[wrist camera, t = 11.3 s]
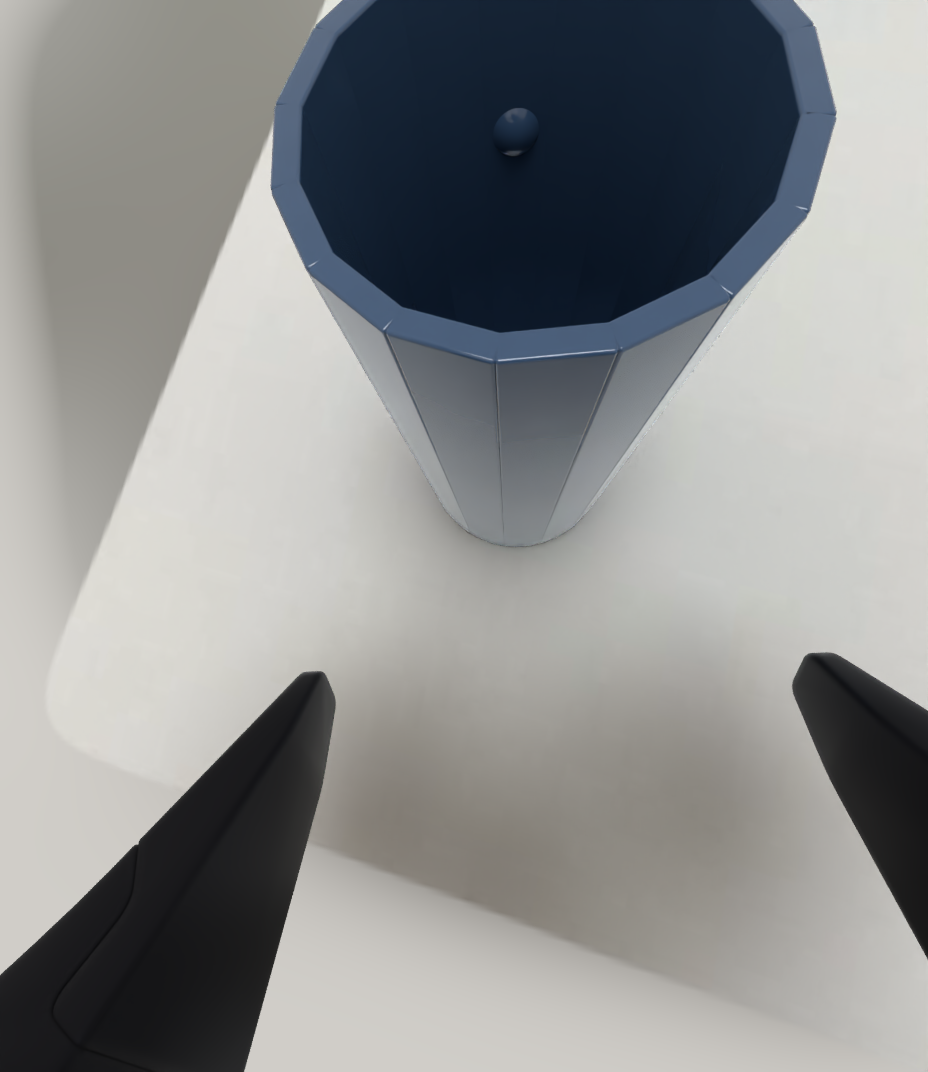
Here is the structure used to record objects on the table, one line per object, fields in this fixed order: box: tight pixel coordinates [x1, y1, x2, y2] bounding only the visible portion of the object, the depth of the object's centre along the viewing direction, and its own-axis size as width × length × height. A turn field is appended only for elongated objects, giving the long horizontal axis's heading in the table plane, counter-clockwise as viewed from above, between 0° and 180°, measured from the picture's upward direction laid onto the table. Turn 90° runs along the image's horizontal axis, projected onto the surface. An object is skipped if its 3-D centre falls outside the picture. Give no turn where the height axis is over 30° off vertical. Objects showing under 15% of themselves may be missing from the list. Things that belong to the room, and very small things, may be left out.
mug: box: [271, 0, 837, 547], centre depth 12 cm, size 10×7×13 cm
